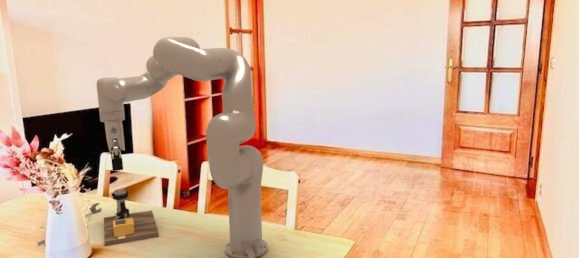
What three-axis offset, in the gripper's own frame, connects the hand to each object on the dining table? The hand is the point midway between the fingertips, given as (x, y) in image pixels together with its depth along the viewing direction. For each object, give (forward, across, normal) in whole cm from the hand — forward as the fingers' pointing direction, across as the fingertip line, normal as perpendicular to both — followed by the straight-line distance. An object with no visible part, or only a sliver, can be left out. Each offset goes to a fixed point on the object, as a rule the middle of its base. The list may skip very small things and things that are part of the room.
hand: (117, 166), depth 145 cm
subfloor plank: (+20, -6, -2) cm, 21 cm away
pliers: (+21, -1, +19) cm, 29 cm away
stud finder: (+19, -12, 0) cm, 22 cm away
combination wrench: (+21, +10, +15) cm, 28 cm away
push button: (+19, 0, 0) cm, 19 cm away
